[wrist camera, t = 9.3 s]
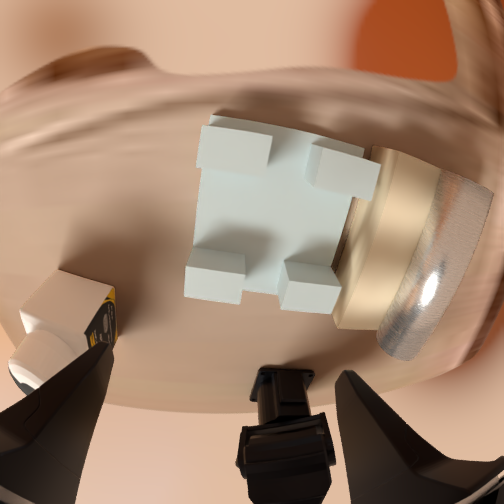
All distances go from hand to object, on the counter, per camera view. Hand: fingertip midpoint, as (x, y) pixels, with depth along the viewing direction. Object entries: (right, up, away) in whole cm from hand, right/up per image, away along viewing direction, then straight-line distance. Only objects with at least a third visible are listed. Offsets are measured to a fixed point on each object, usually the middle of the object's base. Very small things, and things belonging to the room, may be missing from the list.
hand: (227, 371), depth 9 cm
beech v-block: (+14, +5, +12) cm, 20 cm away
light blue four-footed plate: (+2, +7, +11) cm, 13 cm away
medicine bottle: (-16, -1, +15) cm, 22 cm away
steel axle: (+14, +3, +7) cm, 16 cm away
